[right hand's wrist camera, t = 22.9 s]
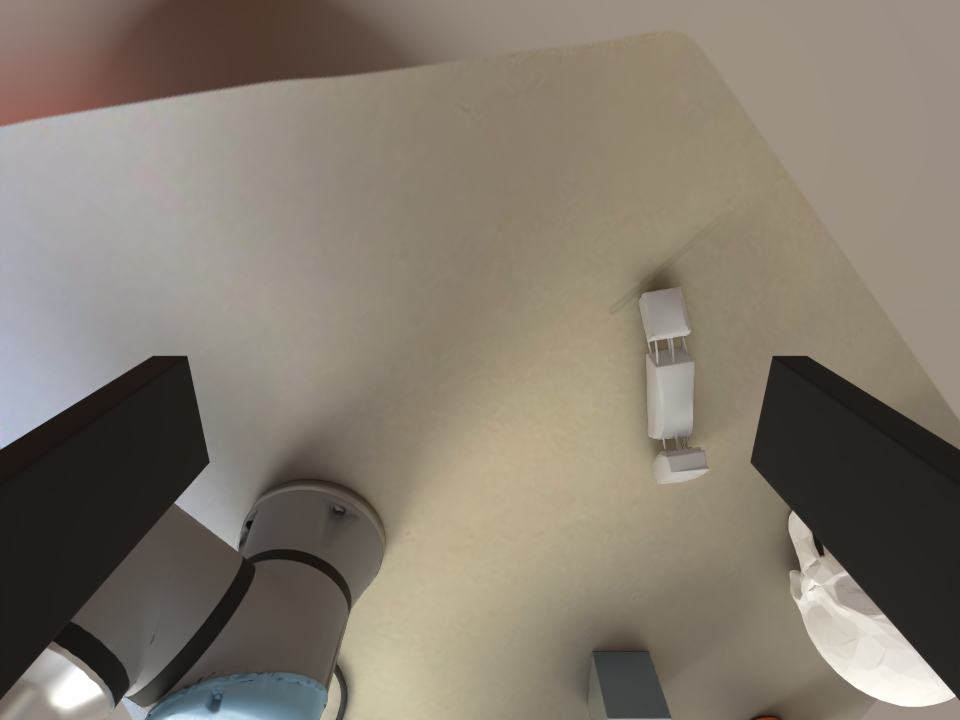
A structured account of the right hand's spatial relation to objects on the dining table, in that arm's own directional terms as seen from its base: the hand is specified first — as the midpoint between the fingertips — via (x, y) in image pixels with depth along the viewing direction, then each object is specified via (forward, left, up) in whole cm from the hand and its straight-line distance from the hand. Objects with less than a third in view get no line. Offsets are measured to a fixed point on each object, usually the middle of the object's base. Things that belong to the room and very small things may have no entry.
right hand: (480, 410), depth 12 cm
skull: (-42, -31, -37) cm, 64 cm away
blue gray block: (-58, -6, -37) cm, 69 cm away
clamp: (-19, -14, -37) cm, 44 cm away
